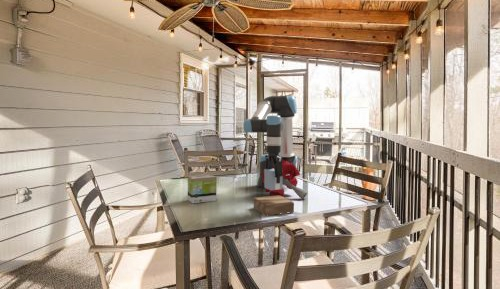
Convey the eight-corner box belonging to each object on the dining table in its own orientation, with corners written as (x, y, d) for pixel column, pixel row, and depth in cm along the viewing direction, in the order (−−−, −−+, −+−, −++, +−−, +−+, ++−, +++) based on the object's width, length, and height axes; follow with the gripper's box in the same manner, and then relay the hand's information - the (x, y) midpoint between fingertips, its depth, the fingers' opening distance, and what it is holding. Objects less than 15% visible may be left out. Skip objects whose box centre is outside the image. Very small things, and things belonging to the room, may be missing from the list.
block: (264, 187, 169) (264, 169, 168) (275, 186, 172) (275, 168, 171) (271, 190, 163) (271, 171, 162) (282, 188, 166) (282, 170, 165)
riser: (253, 208, 173) (253, 197, 172) (279, 205, 179) (280, 195, 178) (265, 216, 158) (265, 205, 158) (293, 213, 164) (293, 202, 163)
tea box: (192, 204, 180) (192, 178, 179) (187, 200, 189) (187, 175, 188) (217, 200, 187) (216, 176, 186) (211, 197, 196) (210, 173, 195)
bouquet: (303, 204, 204) (267, 177, 215) (320, 175, 195) (282, 149, 206) (289, 215, 186) (250, 185, 197) (308, 183, 177) (266, 155, 188)
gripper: (258, 143, 173) (258, 185, 174) (277, 146, 155) (277, 192, 157) (270, 143, 176) (270, 183, 178) (290, 146, 158) (289, 191, 160)
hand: (273, 187), depth 167 cm, fingers closed on block, 7 cm apart
